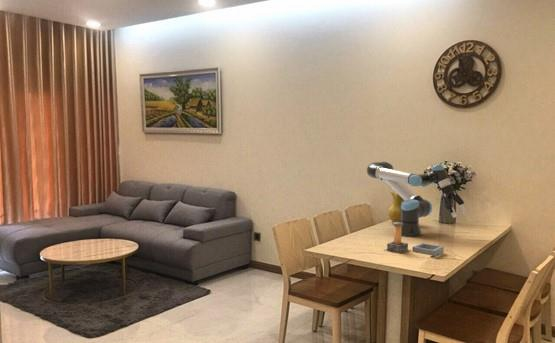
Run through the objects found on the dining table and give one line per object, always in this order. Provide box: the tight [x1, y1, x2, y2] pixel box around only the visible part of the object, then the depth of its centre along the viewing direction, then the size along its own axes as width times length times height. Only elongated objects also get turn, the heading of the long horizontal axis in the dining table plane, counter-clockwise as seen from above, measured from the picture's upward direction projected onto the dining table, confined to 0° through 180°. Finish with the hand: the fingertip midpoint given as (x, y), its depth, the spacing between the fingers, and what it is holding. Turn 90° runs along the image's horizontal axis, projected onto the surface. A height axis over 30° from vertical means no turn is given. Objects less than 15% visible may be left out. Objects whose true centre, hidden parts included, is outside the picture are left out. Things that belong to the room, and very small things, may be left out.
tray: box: [411, 242, 445, 259], centre depth 264 cm, size 13×13×4 cm
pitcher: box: [387, 191, 405, 225], centre depth 350 cm, size 17×19×25 cm
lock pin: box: [392, 222, 403, 245], centre depth 265 cm, size 6×6×16 cm
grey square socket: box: [383, 240, 412, 255], centre depth 266 cm, size 12×12×6 cm
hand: (460, 215), depth 301 cm, fingers open, 13 cm apart
